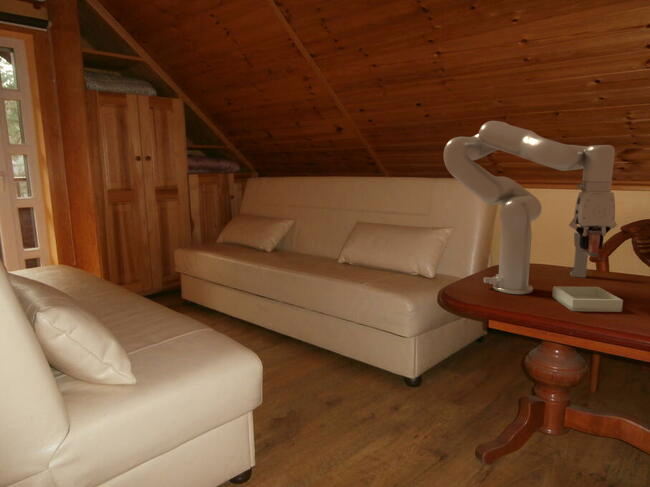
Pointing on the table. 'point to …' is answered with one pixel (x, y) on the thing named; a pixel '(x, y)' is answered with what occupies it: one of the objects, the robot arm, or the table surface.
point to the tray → (587, 299)
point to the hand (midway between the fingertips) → (590, 247)
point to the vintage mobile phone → (579, 259)
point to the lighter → (593, 241)
